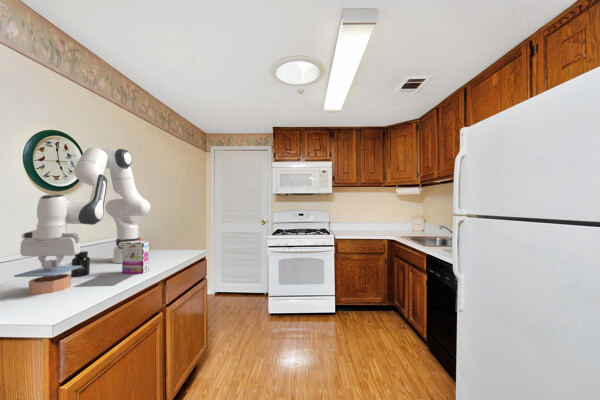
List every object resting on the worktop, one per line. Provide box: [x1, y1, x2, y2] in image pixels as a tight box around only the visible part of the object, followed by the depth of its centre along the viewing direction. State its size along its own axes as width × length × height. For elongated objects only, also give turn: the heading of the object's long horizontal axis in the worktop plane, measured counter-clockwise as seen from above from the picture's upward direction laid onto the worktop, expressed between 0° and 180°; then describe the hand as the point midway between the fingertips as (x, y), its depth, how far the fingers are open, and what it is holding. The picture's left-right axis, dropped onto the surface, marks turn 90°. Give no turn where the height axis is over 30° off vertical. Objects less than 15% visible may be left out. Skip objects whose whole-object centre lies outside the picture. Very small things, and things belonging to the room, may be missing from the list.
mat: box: [73, 274, 135, 288], centre depth 113 cm, size 16×16×1 cm
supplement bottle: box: [70, 250, 91, 278], centre depth 121 cm, size 7×7×12 cm
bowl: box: [27, 273, 72, 296], centre depth 101 cm, size 12×12×5 cm
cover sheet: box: [13, 259, 82, 278], centre depth 101 cm, size 14×14×5 cm
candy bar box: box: [121, 240, 150, 275], centre depth 127 cm, size 11×5×16 cm, turn 88°
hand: (51, 266), depth 101 cm, fingers closed on cover sheet, 3 cm apart
